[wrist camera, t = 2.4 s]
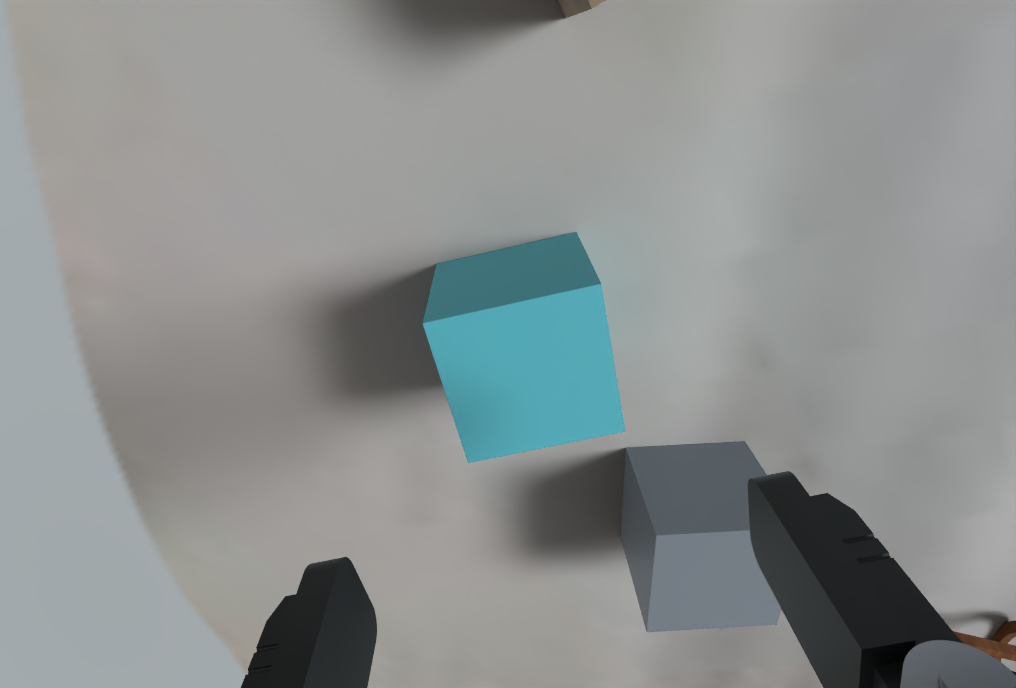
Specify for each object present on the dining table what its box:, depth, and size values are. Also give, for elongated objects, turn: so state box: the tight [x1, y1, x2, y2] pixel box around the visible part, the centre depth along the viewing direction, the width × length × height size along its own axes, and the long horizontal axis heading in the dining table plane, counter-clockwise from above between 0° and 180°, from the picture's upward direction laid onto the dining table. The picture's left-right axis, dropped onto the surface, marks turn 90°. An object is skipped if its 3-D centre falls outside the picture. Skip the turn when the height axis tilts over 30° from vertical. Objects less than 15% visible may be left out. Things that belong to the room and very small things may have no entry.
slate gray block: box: [620, 441, 781, 632], centre depth 23 cm, size 5×5×5 cm
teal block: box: [423, 232, 625, 463], centre depth 19 cm, size 5×5×5 cm
